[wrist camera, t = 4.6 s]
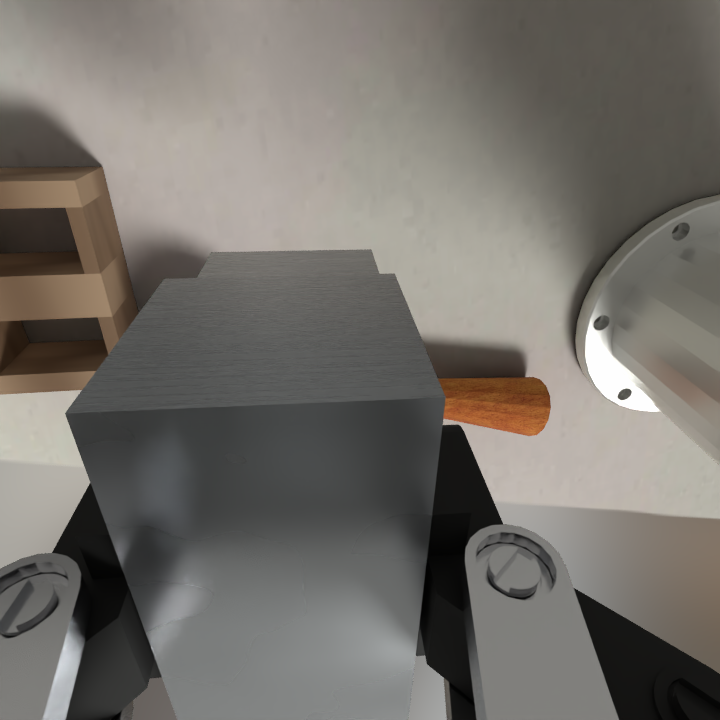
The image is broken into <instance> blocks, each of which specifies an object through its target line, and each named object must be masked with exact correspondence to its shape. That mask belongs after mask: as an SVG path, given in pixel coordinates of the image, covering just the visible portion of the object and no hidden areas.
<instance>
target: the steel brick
mask: <svg viewBox="0 0 720 720" xmlns="http://www.w3.org/2000/svg"><path fill="white" fill-rule="evenodd" d="M445 399H446V397H445V395H444V392H443V390H442V387H441V385H440V382H439V380H438V378H437V375H436V373H435V370H434V368H433V366H432V363H431V361H430V358H429V356H428V353H427V351H426V349H425V346H424V344H423V341H422V339H421V336H420V334H419V332H418V329H417V327H416V324H415V322H414V320H413V317H412V315H411V312H410V310H409V307H408V305H407V303H406V300H405V298H404V295H403V293H402V290H401V288H400V286H399V283H398V281H397V278H396V276H395V274H379V271H378V268H377V265H376V262H375V259H374V256H373V253H372V250H317V251H262V252H211V254H210V256H209V257H208V259H207V261H206V263H205V264H204V266H203V268H202V270H201V271H200V273H199V275H198V276H197V278H174V279H164V280H163V281H162V282H161V284H160V285H159V286H158V288H157V289H156V291H155V292H154V293H153V295H152V296H151V297H150V299H149V300H148V301H147V303H146V304H145V305H144V307H143V308H142V310H141V311H140V312H139V314H138V315H137V316H136V318H135V319H134V320H133V322H132V323H131V324H130V326H129V327H128V329H127V330H126V331H125V333H124V334H123V335H122V337H121V338H120V339H119V341H118V342H117V344H116V345H115V346H114V348H113V349H112V350H111V352H110V353H109V354H108V356H107V357H106V358H105V360H104V361H103V363H102V364H101V365H100V367H99V368H98V369H97V371H96V372H95V373H94V375H93V376H92V378H91V379H90V380H89V382H88V383H87V384H86V386H85V387H84V388H83V390H82V391H81V392H80V394H79V395H78V397H77V398H76V399H75V401H74V402H73V403H72V405H71V406H70V407H69V409H68V410H67V412H66V413H65V414H66V417H67V420H68V422H69V425H70V428H71V431H72V433H73V436H74V439H75V442H76V444H77V447H78V450H79V452H80V455H81V458H82V461H83V463H84V466H85V469H86V471H87V474H88V477H89V480H90V482H91V485H92V488H93V491H94V493H95V496H96V499H97V502H98V504H99V507H100V510H101V512H102V515H103V518H104V521H105V523H106V526H107V529H108V531H109V534H110V537H111V540H112V542H113V545H114V548H115V551H116V553H117V556H118V559H119V561H120V564H121V567H122V570H123V572H124V575H125V578H126V581H127V583H128V586H129V589H130V591H131V594H132V597H133V600H134V602H135V605H136V608H137V611H138V613H139V616H140V619H141V621H142V624H143V627H144V630H145V632H146V635H147V638H148V641H149V643H150V646H151V649H152V651H153V654H154V657H155V660H156V662H157V665H158V668H159V671H160V673H161V676H162V679H163V681H164V684H165V687H166V690H167V692H168V695H169V698H170V700H171V703H172V706H173V709H174V711H175V714H176V717H177V719H178V720H408V718H409V709H410V700H411V692H412V683H413V675H414V666H415V656H416V649H417V640H418V632H419V623H420V614H421V606H422V597H423V588H424V580H425V571H426V563H427V554H428V545H429V537H430V528H431V520H432V511H433V502H434V494H435V485H436V476H437V468H438V459H439V451H440V442H441V433H442V425H443V416H444V408H445Z"/></svg>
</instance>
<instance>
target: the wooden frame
mask: <svg viewBox="0 0 720 720" xmlns="http://www.w3.org/2000/svg"><path fill="white" fill-rule="evenodd" d="M17 208H65V209H66V212H67V215H68V219H69V222H70V226H71V229H72V232H73V236H74V239H75V243H76V246H77V249H78V251H71V252H35V253H0V394H17V393H34V392H52V391H70V390H83V388H84V387H85V386H86V384H87V383H88V382H89V380H90V379H91V378H92V376H93V375H94V373H95V372H96V371H97V369H98V368H99V367H100V365H101V364H102V363H103V361H104V360H105V358H106V357H107V356H108V354H109V353H110V352H111V350H112V349H113V348H114V346H115V345H116V344H117V342H118V341H119V339H120V338H121V337H122V335H123V334H124V333H125V331H126V330H127V329H128V327H129V326H130V324H131V323H132V322H133V320H134V319H135V318H136V316H137V315H138V314H139V313H138V309H137V305H136V301H135V297H134V293H133V289H132V285H131V281H130V277H129V273H128V269H127V264H126V260H125V256H124V252H123V248H122V244H121V240H120V236H119V232H118V228H117V224H116V220H115V216H114V212H113V207H112V203H111V199H110V195H109V191H108V187H107V183H106V179H105V175H104V171H103V167H25V168H0V209H17ZM92 317H98V321H99V324H100V327H101V331H102V334H103V338H104V340H89V341H67V342H45V343H29V341H28V338H27V335H26V333H25V330H24V328H23V325H22V322H21V320H43V319H68V318H92Z"/></svg>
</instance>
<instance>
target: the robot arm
mask: <svg viewBox="0 0 720 720" xmlns="http://www.w3.org/2000/svg"><path fill="white" fill-rule="evenodd" d="M575 343H576V352H577V359H578V361H579V364H580V367H581V369H582V372H583V374H584V375H585V376H586V378H587V379H588V380H589V382H590V383H591V385H592V386H593V387H594V388H596V389H597V390H598V391H599V392H600V393H601V394H602V395H603V396H604V397H605V398H606V399H608V400H609V401H611V402H612V403H614V404H616V405H618V406H621V407H625V408H628V409H631V410H637V411H646V412H655V411H661V412H662V413H663V414H664V415H665V416H666V417H667V418H669V419H670V420H671V421H672V422H673V423H674V424H675V425H676V426H677V427H678V428H679V429H680V430H681V431H683V432H684V433H685V434H686V435H687V436H688V437H689V438H690V439H691V440H692V441H693V442H694V443H696V444H697V445H698V446H699V447H700V448H701V449H702V450H703V451H704V452H705V453H706V454H707V455H708V456H710V457H711V458H712V459H713V460H714V461H715V462H716V463H717V464H718V465H719V466H720V195H715V196H711V197H706V198H702V199H697V200H694V201H692V202H689V203H687V204H684V205H682V206H679V207H677V208H674V209H672V210H670V211H668V212H667V213H665V214H663V215H662V216H660V217H658V218H656V219H655V220H653V221H651V222H650V223H648V224H647V225H646V226H644V227H643V228H642V229H641V230H639V231H638V232H637V233H636V234H634V235H633V236H632V237H631V238H629V239H628V240H627V241H626V242H625V243H624V244H623V245H622V246H621V247H620V248H619V249H618V250H617V251H616V253H615V254H614V255H613V256H612V257H611V258H610V259H609V260H608V261H607V263H606V264H605V266H604V267H603V268H602V270H601V271H600V273H599V274H598V275H597V277H596V278H595V280H594V281H593V283H592V285H591V287H590V289H589V291H588V293H587V295H586V297H585V299H584V301H583V305H582V308H581V311H580V314H579V318H578V321H577V329H576V338H575ZM422 655H425V656H426V661H427V664H428V665H429V666H430V667H431V668H433V669H434V670H435V671H436V672H437V673H439V674H440V675H441V676H442V677H444V687H445V702H446V715H447V720H720V674H719V673H717V672H716V671H714V670H713V669H711V668H710V667H708V666H706V665H704V664H703V663H701V662H699V661H698V660H696V659H694V658H692V657H691V656H689V655H687V654H686V653H684V652H682V651H680V650H679V649H677V648H676V647H674V646H672V645H670V644H669V643H667V642H665V641H663V640H662V639H660V638H658V637H657V636H655V635H653V634H652V633H650V632H648V631H646V630H644V629H643V628H641V627H640V626H638V625H636V624H635V623H633V622H631V621H629V620H628V619H626V618H624V617H623V616H621V615H619V614H617V613H616V612H614V611H612V610H611V609H609V608H607V607H605V606H604V605H602V604H600V603H598V602H597V601H595V600H594V599H592V598H590V597H588V596H587V595H585V594H583V593H582V592H580V591H578V590H576V589H575V588H573V585H572V582H571V580H570V576H569V573H568V570H567V568H566V565H565V564H564V562H563V560H562V558H561V556H560V554H559V553H558V552H557V551H556V550H555V549H554V547H553V546H552V545H551V544H550V543H549V542H548V541H546V540H545V539H543V538H542V537H540V536H539V535H538V534H536V533H534V532H532V531H529V530H527V529H524V528H522V527H518V526H513V525H507V524H503V523H502V520H501V518H500V516H499V513H498V511H497V509H496V506H495V504H494V502H493V499H492V497H491V494H490V492H489V490H488V487H487V485H486V483H485V480H484V478H483V476H482V473H481V471H480V469H479V466H478V464H477V461H476V459H475V457H474V454H473V452H472V450H471V447H470V445H469V443H468V440H467V438H466V436H465V433H464V431H463V429H462V427H461V426H460V425H442V433H441V442H440V451H439V459H438V468H437V476H436V485H435V494H434V502H433V511H432V520H431V528H430V537H429V545H428V554H427V563H426V571H425V580H424V588H423V597H422V606H421V614H420V623H419V632H418V640H417V649H416V656H422ZM159 677H162V676H161V673H160V671H159V668H158V665H157V662H156V660H155V657H154V654H153V651H152V649H151V646H150V643H149V641H148V638H147V635H146V632H145V630H144V627H143V624H142V621H141V619H140V616H139V613H138V611H137V608H136V605H135V602H134V600H133V597H132V594H131V591H130V589H129V586H128V583H127V581H126V578H125V575H124V572H123V570H122V567H121V564H120V561H119V559H118V556H117V553H116V551H115V548H114V545H113V542H112V540H111V537H110V534H109V531H108V529H107V526H106V523H105V521H104V518H103V515H102V512H101V510H100V507H99V504H98V502H97V499H96V496H95V493H94V491H93V488H92V485H91V482H90V484H89V486H88V488H87V490H86V492H85V493H84V495H83V497H82V499H81V501H80V503H79V504H78V506H77V508H76V510H75V512H74V514H73V515H72V517H71V519H70V521H69V523H68V525H67V527H66V528H65V530H64V532H63V534H62V536H61V537H60V539H59V541H58V543H57V545H56V547H55V548H54V550H53V552H52V553H45V554H36V555H33V556H29V557H26V558H22V559H19V560H17V561H15V562H13V563H11V564H9V565H7V566H5V567H3V568H1V569H0V720H132V716H133V709H134V701H133V700H134V699H135V698H136V697H137V696H138V695H140V694H141V693H142V692H143V691H144V690H145V689H146V688H147V686H148V682H149V679H150V678H159Z"/></svg>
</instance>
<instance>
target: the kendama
mask: <svg viewBox="0 0 720 720" xmlns="http://www.w3.org/2000/svg"><path fill="white" fill-rule="evenodd" d="M438 380H439V382H440V385H441V387H442V390H443V392H444V395H445V397H446V399H445V408H444V416H443V418H444V419H449V420H454V421H459V422H464V423H469V424H473V425H478V426H483V427H488V428H493V429H498V430H503V431H508V432H512V433H517V434H522V435H527V436H532V435H537V434H538V433H539V432H541V431H542V430H543V429H544V427H545V425H546V423H547V421H548V419H549V414H550V408H551V406H550V395H549V393H548V390H547V387H546V385H545V384H544V383H543V382H542V381H541V380H540V379H537V378H534V377H519V378H442V379H438Z"/></svg>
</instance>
